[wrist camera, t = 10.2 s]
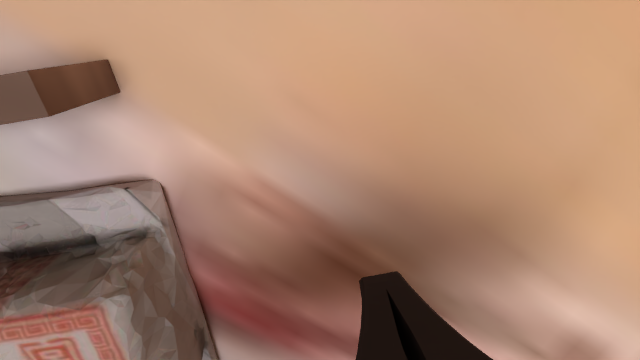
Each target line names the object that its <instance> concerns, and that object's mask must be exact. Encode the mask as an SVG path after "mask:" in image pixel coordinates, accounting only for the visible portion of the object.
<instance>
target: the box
mask: <svg viewBox="0 0 640 360" xmlns="http://www.w3.org/2000/svg"><path fill="white" fill-rule="evenodd" d="M119 92H120V91H119V88H118V85H117V83H116V80H115V78H114V75H113V72H112V70H111V67H110V65H109V62H108V60H101V61H94V62H87V63H80V64H72V65H65V66H58V67H51V68H44V69H37V70H29V71H23V72H17V73H11V74H5V75H0V125H2V124H8V123H14V122H20V121H26V120H32V119H37V118H43V117H49V116H52V115H55V114H58V113H61V112H64V111H67V110H70V109H73V108H76V107H78V106H81V105H84V104H87V103H90V102H93V101H96V100H99V99H102V98H105V97H108V96H111V95H114V94H117V93H119Z"/></svg>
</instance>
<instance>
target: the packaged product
mask: <svg viewBox="0 0 640 360" xmlns="http://www.w3.org/2000/svg"><path fill="white" fill-rule="evenodd" d="M0 360H217V356H216V353H215V349H214V346H213V343H212V340H211V336H210V333H209V330H208V327H207V324H206V320H205V317H204V314H203V311H202V308H201V304H200V301H199V298H198V295H197V292H196V288H195V286H194V283H193V281H192V278H191V276H190V273H189V271H188V267H187V263H186V260H185V256H184V253H183V250H182V247H181V244H180V241H179V238H178V235H177V232H176V229H175V226H174V223H173V220H172V217H171V214H170V211H169V208H168V205H167V202H166V199H165V196H164V193H163V190H162V187H161V185H160V183H159V182H157V181H156V180H144V181H137V182H129V183H122V184H114V185H107V186H100V187H92V188H85V189H80V190H73V191H60V192H48V193H36V194H24V195H11V196H0Z"/></svg>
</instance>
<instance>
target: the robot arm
mask: <svg viewBox="0 0 640 360" xmlns="http://www.w3.org/2000/svg"><path fill="white" fill-rule="evenodd" d="M359 283H360V290H361V297H362V316H361V329H360V337H359V344H358V351H357V356H356V360H493V359H492V358H490V357H489V356H487V355H486V354H485V353H483V352H482V351H481V350H479V349H478V348H477V347H475V346H474V345H473V344H472V343H470V342H469V341H468V340H467V339H465V338H464V337H463V336H462V335H461V334H459V333H458V332H457V331H456V330H455V329H454V328H452V327H451V326H450V325H449V324H448V323H447V322H446V321H444V320H443V319H442V318H441V317H440V316H439V315H438V314H437V313H436V312H435V311H434V310H433V309H432V308H431V307H430V306H429V305H428V304H427V303H426V302H425V301H424V300H423V299H422V298H421V297H420V296H419V295H418V294H417V293H416V292H415V291H414V290H413V289H412V288H411V286H410V285H409V284H408V283H407V282H406V281H405V279H404V278H403V277H402V276H401V275H400V273H398V272H397V271H396V272H391V273H385V274H380V275H374V276H369V277H363V278H361V280H360V281H359Z"/></svg>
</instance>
